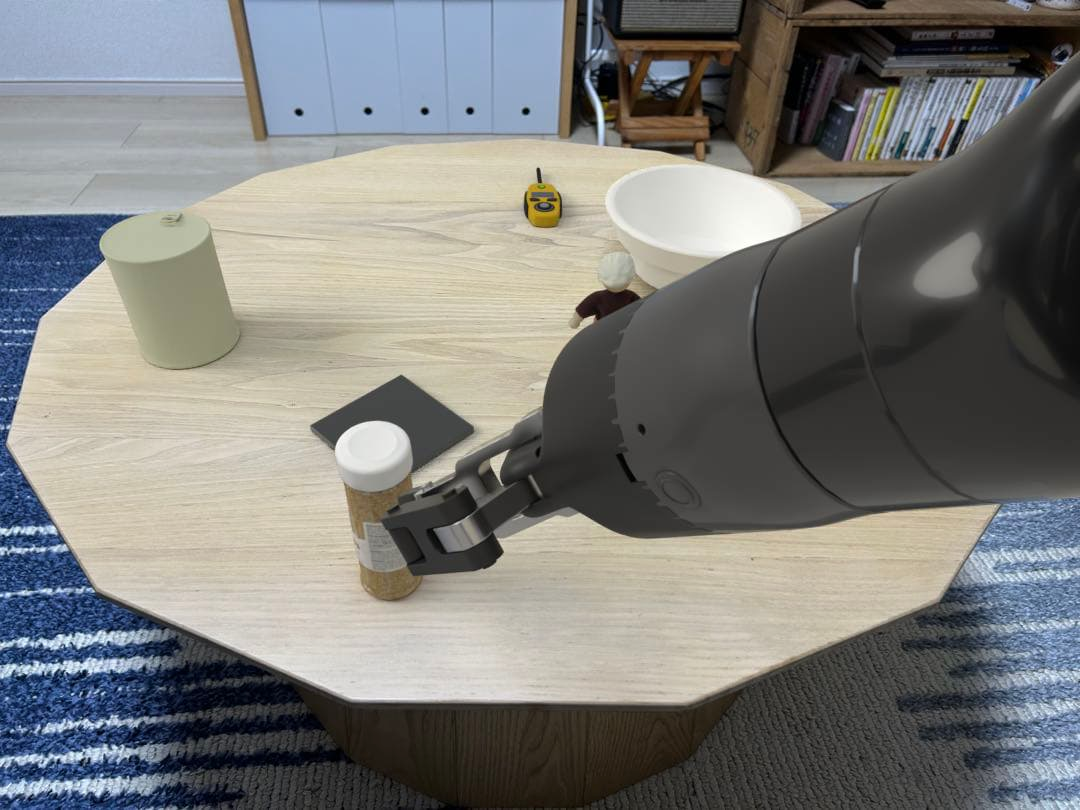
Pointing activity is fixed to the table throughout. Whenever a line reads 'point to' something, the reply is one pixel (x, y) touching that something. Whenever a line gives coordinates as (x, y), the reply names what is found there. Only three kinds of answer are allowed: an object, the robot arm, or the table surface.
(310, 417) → the table surface
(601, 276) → the grandmother figurine
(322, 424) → the slate coaster
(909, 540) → the table surface
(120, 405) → the table surface
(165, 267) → the can
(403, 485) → the sprinkles bottle
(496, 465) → the table surface
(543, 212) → the yellow walkie talkie
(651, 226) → the bowl
